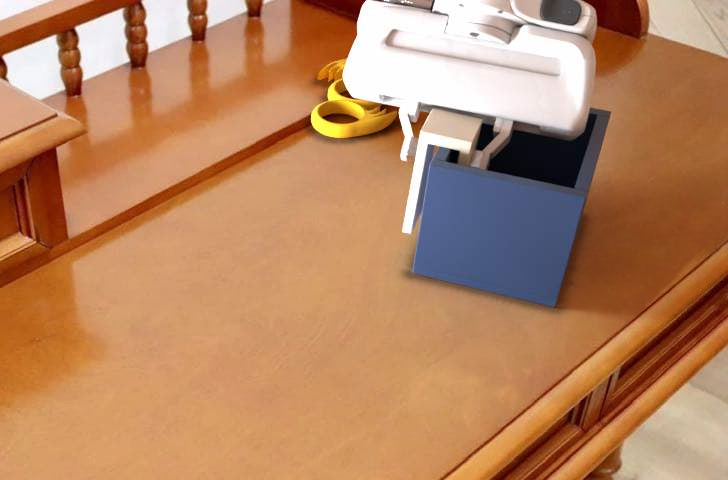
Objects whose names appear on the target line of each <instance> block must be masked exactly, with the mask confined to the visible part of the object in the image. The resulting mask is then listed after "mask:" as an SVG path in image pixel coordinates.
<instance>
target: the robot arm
mask: <svg viewBox="0 0 728 480" xmlns="http://www.w3.org/2000/svg"><path fill="white" fill-rule="evenodd" d="M597 29H598V17H597V11H596V8H595V7H593V6H592V5H591V4H589V3H587V2H586V1H584V0H381V1H379V0H365V2H363V4H362V6H361V8H360V12H359V15H358V18H357V21H356V32H357V35H356V38H355V40H354V42H353V44H352V46H351V49H350V51H349V54H348V57H347V58H348V59H347V62H346V65H345V68H344V71H343V80H344V83H345V86H346V88H347V90H348V91H347V92H348V93H349V94H350V96H351V98H353V99H358V100H360V99H362V100H367V101H372V102H377V103H382V105H387V106H392V107H393V106H394V107H398V108H399V110H398V115H399V120H400V124H401V127H402V128H401V129H402V132H403V135H404V140H403V142H402V143H403V144H402V147H401V150H400V156H399V157H400V160H401V161H403V162H408V163H413V164H415V159H416V153H417V147H418V142H419V137H416V136H415V135H414V132H413V128H412V124H411V122H412V123H414V124H415V123H418V120H419V116H420V113H421V112H423V113H428V114H430V112H431V110H432V109H433V108H434V109H439V110H443V111H448V112H452V113H457V114H461V115H466V116H471V117H475V118H480V119H483V121H482V123H483V124H488V125H493V126H494V128H493V136H494V140H493V141H492V142H491V143H490V144H489V145H488V146H487V147H486V148H485V149H484V150H483V151H479V150H473V153H472V156H471V161H470V162H469V167H473V168H478V169H483V170H488V166H489V163H490V159H492V158H494V157H495V156H496V155H497V154H498V153H499V152H500V151H501V150H502V149H503V148H504V147H505V146H506V145H507V144H508V143H509V142H510V139H511V135H512V132H513V130H518V131H523V132H528V133H533V134H538V135H543V136H548V137H553V138H558V139H563V140H568V141H572V140H574V139H575V138H577V137H578V136H580V135H581V134H582V133H583V132H584V131H585V127H586V124H587V120H588V115H589V111H590V108H591V105H592V101H593V92H594V87H595V78H596V66H597V58H596V52H595V49H594V47H593V43H594V41H595V37H596V34H597Z"/></svg>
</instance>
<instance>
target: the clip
mask: <svg viewBox="0 0 728 480" xmlns="http://www.w3.org/2000/svg"><path fill="white" fill-rule="evenodd" d="M428 114H429V115H428V116H427V117H426V120H425V122H424V124H423V126H422V127H421V129H420V132H419V137H418V138H419V142H418V147H417V153H416V159H415V163H413V164H414V165H413V171H412V176H411V182H410V187H409V193H408V197H407V204H406V208H405V215H404V220H403V224H402V230H401V231H402V233H404V234H409V235H412V233H413V230H415V227H416V225H417V224H418V221H419V219H420V218H421V217H420V216H422V209H423V203H424V197H425V191H426V185H427V178H428V172H429V166H430V163H431V161H432V160H433V157H434V155H435V149H436V147H439V146H441V147H445V148H449V149H454V150H458V151H460V154H459V158H458V163H457V164H459V165H464V166H469V162H470V161H471V156H472V153H473V150H476V148H477V143H478V139H479V134H480V130H481V125H482V121H483V119H480V118H475V117H471V116H466V115H461V114H457V113H452V112H448V111H443V110H439V109H434V108H433V109H432V110H431V112H430V113H428Z"/></svg>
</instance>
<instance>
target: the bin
mask: <svg viewBox="0 0 728 480" xmlns="http://www.w3.org/2000/svg"><path fill="white" fill-rule="evenodd" d="M611 115H612V111H611V110H605V109H600V108H595V107H590V111H589V115H588V120H587V124H586V127H585V131H584V132H583V133H582V134H581V135H580V136H578V137H577V138H575V139H574V140H572V141H568V140H563V139H558V138H553V137H548V136H543V135H538V134H533V133H528V132H523V131H518V130H513V132H512V135H511V139H510V142H509V143H508V144H507V145H506V146H505V147H504V148H503V149H502V150H501V151H500V152H499V153H498V154H497V155H496V156H495V157H494V158H492V159H490V163H489V166H488V170H483V169H478V168H473V167H469V166H464V165H459V164H457V163H458V158H459V154H460V151H458V150H454V149H449V148H445V147H441V146H437V147H438V148H437V149H436V151H435V152H434V154H433V159H432V161H431V163H430V166H429V172H428V178H427V185H426V191H425V197H424V203H423V209H422V212H421V215H420V216H421V217H420V223H419V228H418V235H417V241H416V247H415V253H414V260H413V267H412V274H415V275H419V276H422V277H427V278H431V279H434V280H439V281H443V282H448V283H450V284H456V285H460V286H463V287H467V288H472V289H476V290H480V291H485V292H489V293H492V294H496V295H501V296H505V297H509V298H513V299H517V300H522V301H525V302H530V303H533V304H538V305H542V306H546V307H550V308H556V307H557V303H558V300H559V296H560V293H561V290H562V286H563V283H564V279H565V276H566V272H567V269H568V267H569V262H570V259H571V256H572V253H573V252H572V251H573V249H574V245H575V243H576V238H577V235H578V233H579V232H578V231H579V228H580V225H581V221H582V219H583V215H584V211H585V208H586V204H587V200H588V196H589V194H590V189H591V185H592V182H593V179H594V175H595V171H596V168H597V164H598V161H599V158H600V153H601V152H602V151H601V150H602V147H603V144H604V140H605V136H606V133H607V129H608V125H609V122H610V118H611ZM493 128H494V126H493V125H488V124H483V123H482V125H481V130H480V134H479V139H478V143H477V148H476V150H479V151H483V150H484V149H485V148H486V147H487V146H488V145H489V144H490V143H491V142H492V141H493V140H494V136H493Z"/></svg>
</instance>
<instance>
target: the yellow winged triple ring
mask: <svg viewBox="0 0 728 480" xmlns="http://www.w3.org/2000/svg"><path fill="white" fill-rule="evenodd" d="M347 59H348V57H346V58H342V59H337V60H335V61H333V62H330V63H329V64H326V65H325V66H324V67H323V68H322V69H321V70H320V71H319V72H318V74H317V80H318V81H321V80H324V79H327V78H328V80H327V83H330V81H332V80H333V83H332V84H331V85H330V86H329V87H328V90H327V98H328V100H327V101H324V102H321V103H320V104H318V105H316V106H315V107H314V108H313V110H312V111H311V117H310V121H311V125H312V127H313V128H314V130H316V131H317V132H318V133H320V134H321V135H323V136H327V137H330V138H335V139H350V138H354V137H361V136H366V135H370V134H374V133H377V132H380V131H382V130H384V129H386V128H387V127H389V126H390V125H391V124H392V123H394V121H395V119H396V118H397V116H398V110H393V111H390V112H389V113H387V108H384V109H383V110H382V111H381V106H382V105H383V104H382V103H377V102H372V101H367V100H362V99H357V98H350V97H346V96H343V95H341V94H340V93H344V92H349V91H348V90H347V88H346V86H345V83H344V80H343V71H344V68H345V65H346V62H347ZM335 114H339V115H348V116H351V117H353V118H356V119H357V120H356V121H354V122H349V123H335V122H331V121H329V120H328V121H327V120H326V119H324V118H323V117H325V116H328V115H335Z"/></svg>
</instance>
